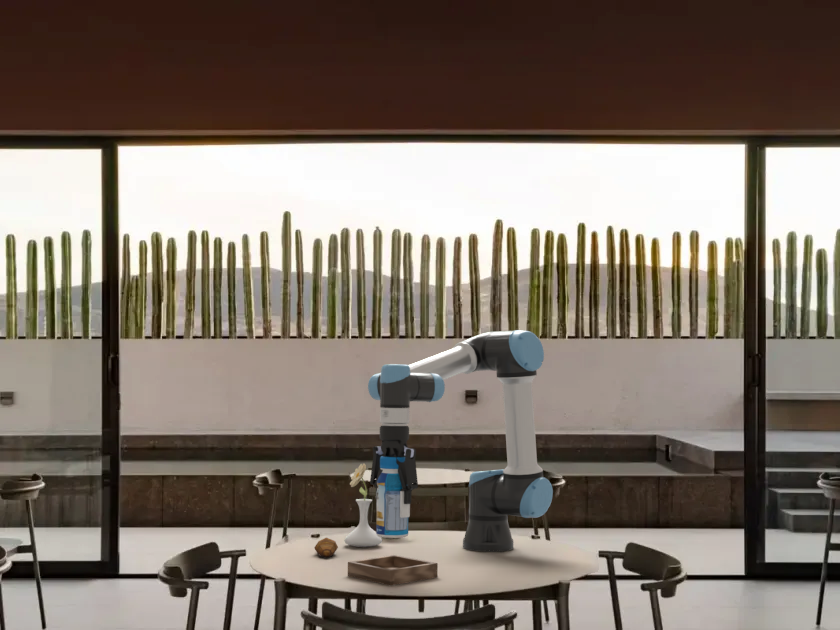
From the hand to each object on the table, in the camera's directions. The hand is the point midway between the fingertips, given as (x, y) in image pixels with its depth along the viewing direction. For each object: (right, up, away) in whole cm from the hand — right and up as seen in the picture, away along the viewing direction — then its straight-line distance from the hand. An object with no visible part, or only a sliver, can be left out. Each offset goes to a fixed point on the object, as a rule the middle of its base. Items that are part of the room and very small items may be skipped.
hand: (393, 515), depth 245 cm
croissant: (-20, -18, +30) cm, 40 cm away
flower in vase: (-10, -19, +45) cm, 50 cm away
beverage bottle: (0, -5, 0) cm, 5 cm away
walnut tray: (0, -15, -1) cm, 15 cm away
